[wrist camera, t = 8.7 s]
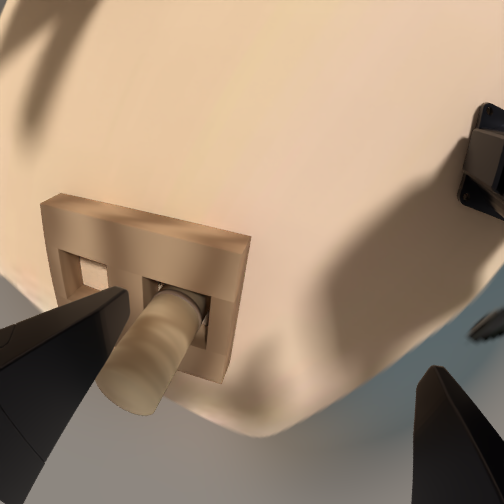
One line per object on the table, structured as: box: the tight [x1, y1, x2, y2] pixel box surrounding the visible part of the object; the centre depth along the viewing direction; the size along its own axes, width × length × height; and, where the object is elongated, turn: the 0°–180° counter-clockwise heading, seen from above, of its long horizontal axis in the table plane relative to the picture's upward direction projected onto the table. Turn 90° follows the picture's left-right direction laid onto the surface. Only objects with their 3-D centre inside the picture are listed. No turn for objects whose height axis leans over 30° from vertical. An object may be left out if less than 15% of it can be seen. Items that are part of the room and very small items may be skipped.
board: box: [40, 193, 251, 384], centre depth 23 cm, size 16×12×2 cm
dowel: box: [95, 283, 211, 416], centre depth 20 cm, size 4×4×10 cm
